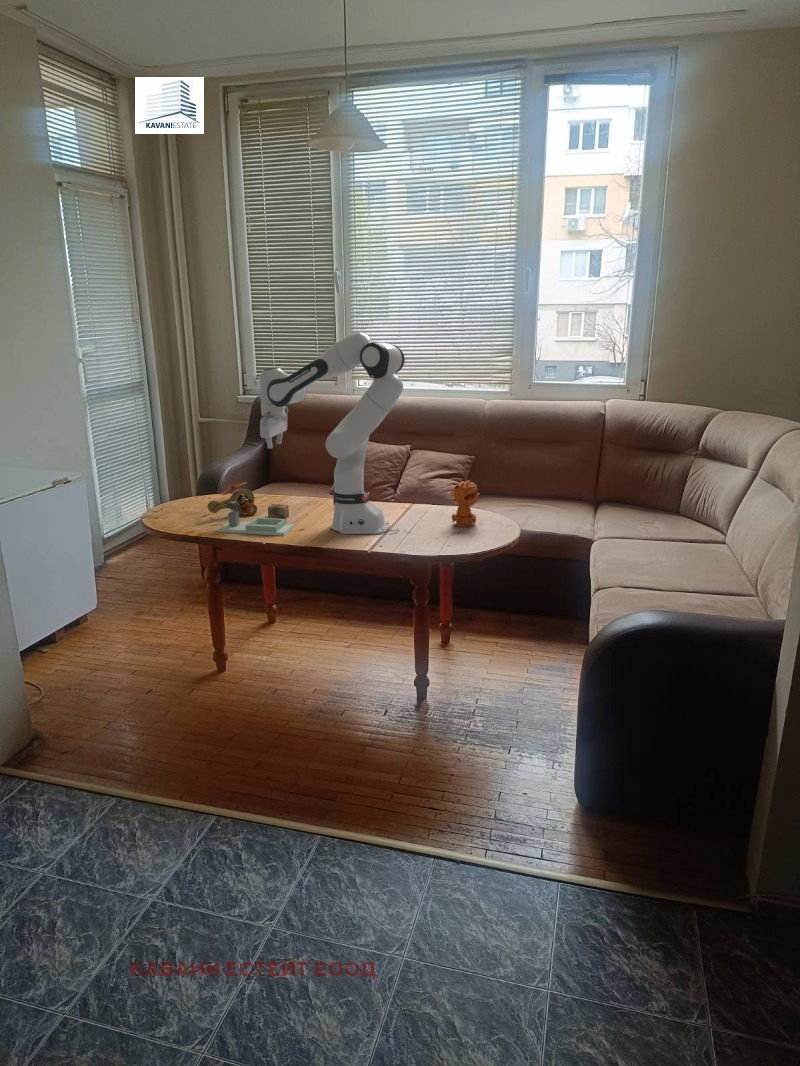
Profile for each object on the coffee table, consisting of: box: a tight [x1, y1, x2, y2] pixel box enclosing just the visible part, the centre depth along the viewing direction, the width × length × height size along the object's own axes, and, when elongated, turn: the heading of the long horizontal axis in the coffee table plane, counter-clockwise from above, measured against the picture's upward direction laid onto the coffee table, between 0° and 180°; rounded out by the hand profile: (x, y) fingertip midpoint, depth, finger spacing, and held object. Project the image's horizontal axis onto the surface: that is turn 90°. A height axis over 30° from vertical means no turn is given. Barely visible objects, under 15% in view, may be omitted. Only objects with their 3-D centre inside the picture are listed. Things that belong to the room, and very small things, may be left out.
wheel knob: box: [226, 502, 239, 513], centre depth 272 cm, size 4×4×5 cm
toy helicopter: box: [207, 481, 258, 516], centre depth 288 cm, size 8×21×14 cm, turn 135°
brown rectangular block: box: [267, 503, 290, 520], centre depth 288 cm, size 7×5×5 cm
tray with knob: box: [218, 511, 295, 537], centre depth 271 cm, size 26×11×6 cm, turn 79°
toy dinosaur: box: [450, 479, 481, 527], centre depth 275 cm, size 11×11×18 cm
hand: (274, 446), depth 280 cm, fingers open, 8 cm apart
